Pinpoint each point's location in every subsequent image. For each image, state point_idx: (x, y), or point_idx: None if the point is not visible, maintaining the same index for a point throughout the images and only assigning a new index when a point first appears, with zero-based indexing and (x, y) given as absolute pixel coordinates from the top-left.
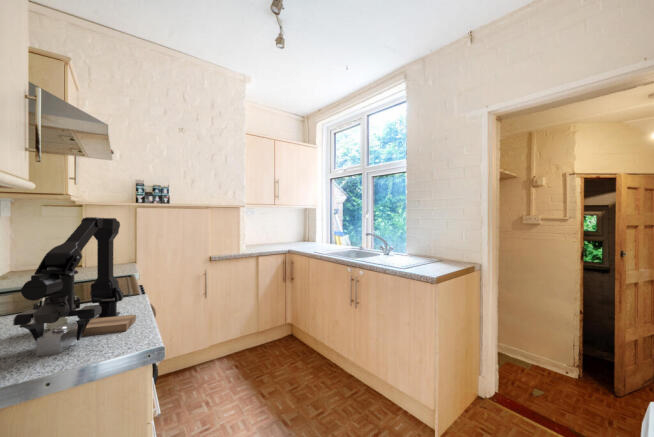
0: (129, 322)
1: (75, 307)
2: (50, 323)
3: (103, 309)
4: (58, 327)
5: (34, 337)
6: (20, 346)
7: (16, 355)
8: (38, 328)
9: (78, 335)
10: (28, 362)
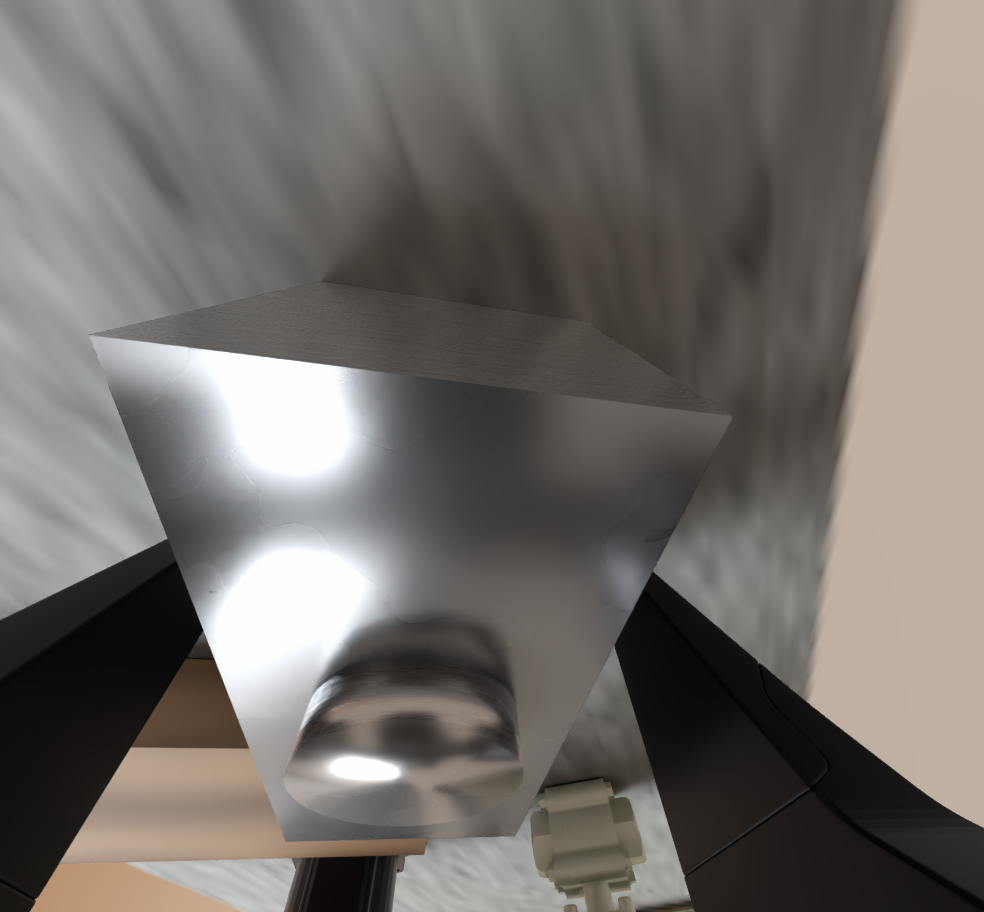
0: None
1: None
2: (619, 837)
3: None
4: (442, 793)
5: (716, 633)
6: (735, 620)
7: (763, 440)
8: (760, 818)
9: (142, 562)
10: (631, 40)
